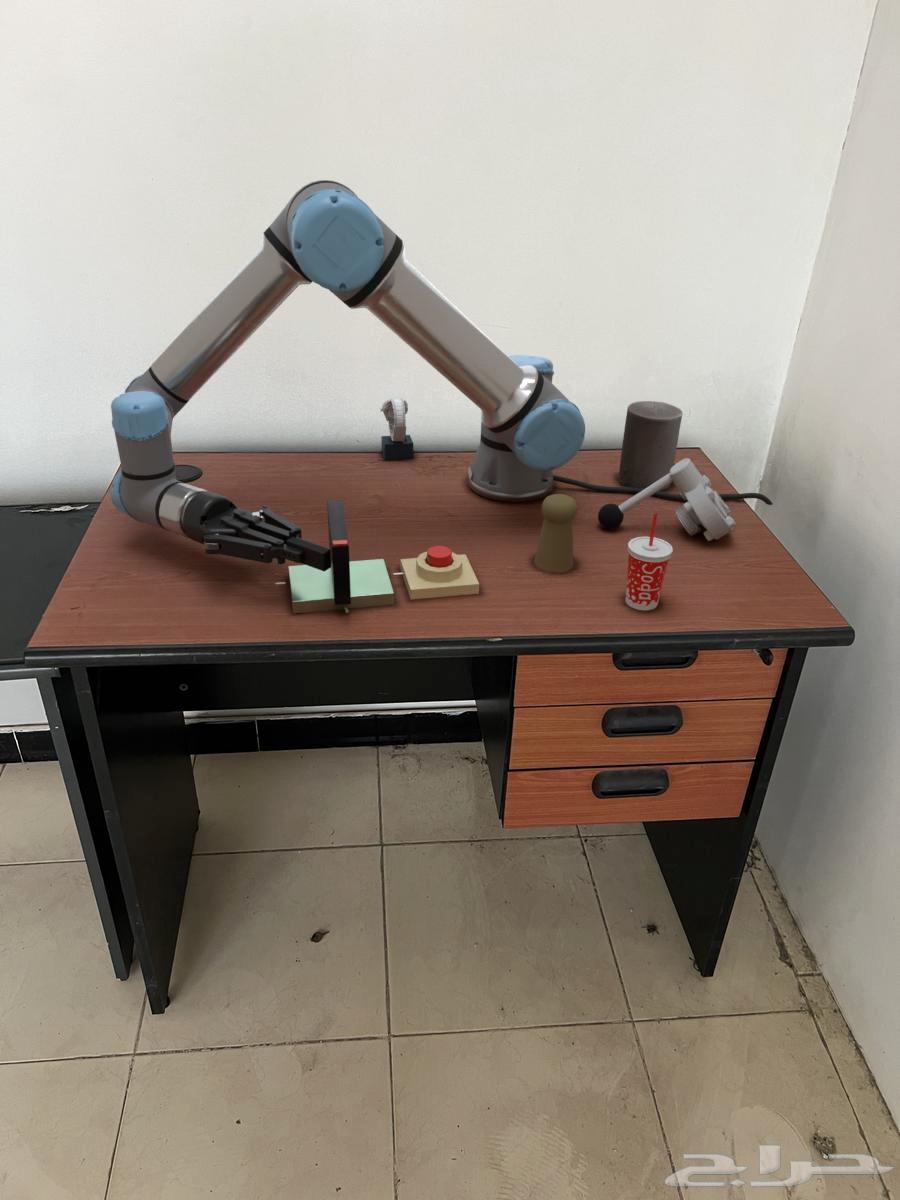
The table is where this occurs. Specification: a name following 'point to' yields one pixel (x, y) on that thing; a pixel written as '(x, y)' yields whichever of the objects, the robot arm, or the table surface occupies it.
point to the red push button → (439, 556)
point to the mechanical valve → (696, 511)
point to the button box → (438, 577)
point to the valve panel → (317, 587)
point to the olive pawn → (556, 534)
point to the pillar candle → (649, 443)
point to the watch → (396, 431)
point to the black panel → (339, 552)
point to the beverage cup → (646, 570)
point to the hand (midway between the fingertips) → (327, 560)
